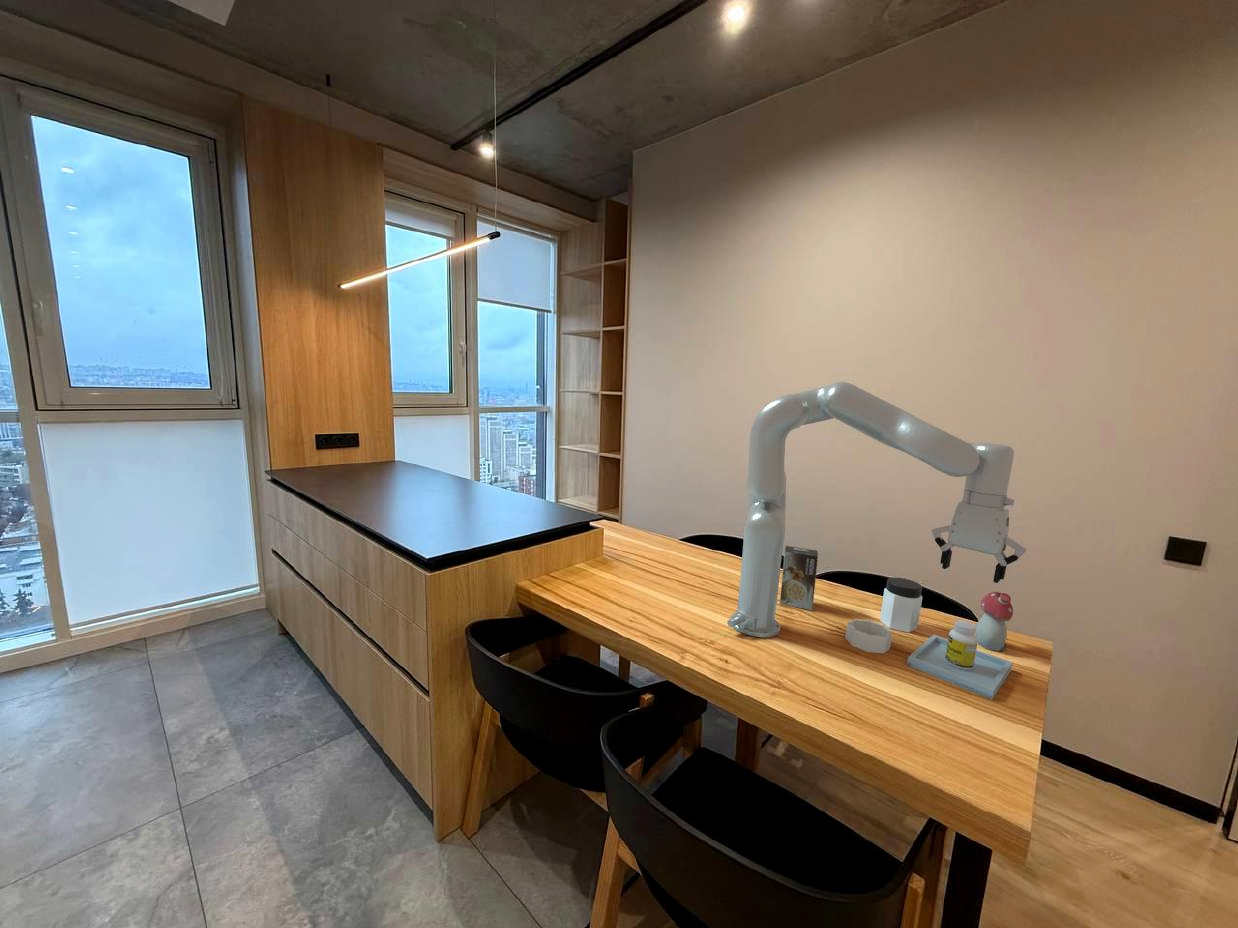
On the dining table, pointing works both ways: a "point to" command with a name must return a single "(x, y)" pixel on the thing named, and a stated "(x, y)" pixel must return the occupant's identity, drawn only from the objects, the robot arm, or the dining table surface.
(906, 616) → the jar
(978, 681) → the tray
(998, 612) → the decorative ornament
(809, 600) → the coffee box
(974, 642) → the supplement bottle
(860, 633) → the bowl
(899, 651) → the dining table surface
